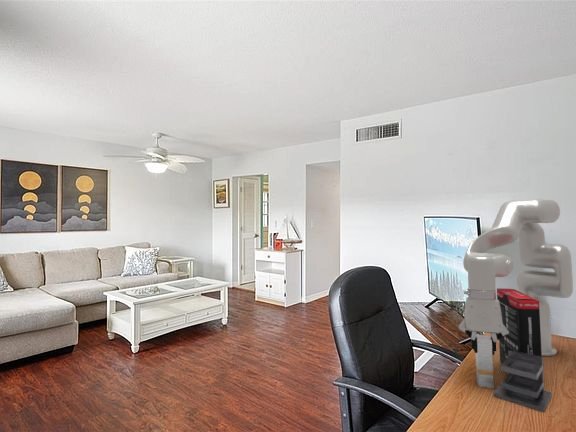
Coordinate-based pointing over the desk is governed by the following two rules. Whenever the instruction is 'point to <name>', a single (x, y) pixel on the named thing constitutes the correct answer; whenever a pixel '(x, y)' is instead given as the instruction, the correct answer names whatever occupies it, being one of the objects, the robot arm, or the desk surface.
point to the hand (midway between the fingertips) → (483, 351)
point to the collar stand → (524, 381)
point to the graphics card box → (519, 323)
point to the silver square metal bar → (484, 361)
